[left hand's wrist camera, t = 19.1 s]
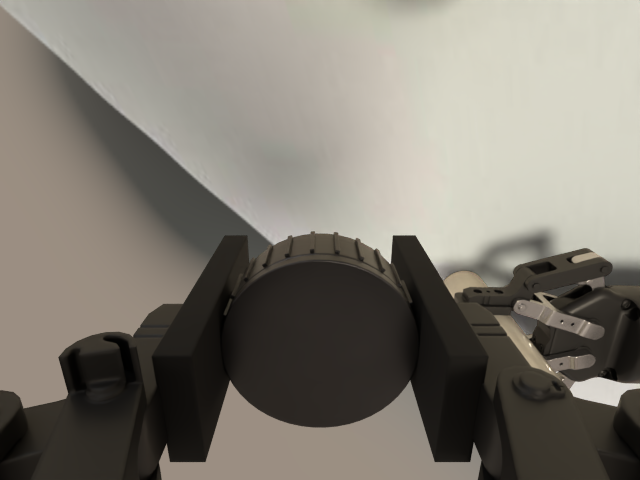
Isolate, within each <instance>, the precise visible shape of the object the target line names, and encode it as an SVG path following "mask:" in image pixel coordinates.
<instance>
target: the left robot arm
mask: <svg viewBox="0 0 640 480" xmlns="http://www.w3.org/2000/svg"><path fill="white" fill-rule="evenodd" d="M391 263H393V264H394V266H395V268H396V271H397V273H398V276H399V278H400V281H401V280H404V282H405V285H406V287H407V290H408V292H409V294H410V297H411V299H412V302H413V304H414V305H413V306H411V308H412V311H413V313H414V316H415V318H416V321H417V324H418V329H419V334H420V346H419V355H418V361H417V365H416V368H415V371H414V373H413V375H412V377H411V379H410V380H411V384H412V387H413V391H414V394H415V397H416V400H417V404H418V407H419V411H420V414H421V417H422V421H423V424H424V427H425V431H426V434H427V437H428V441H429V444H430V447H431V451H432V454H433V457H434V461H435V462H470V460H471V454H472V449H473V443H475V445H476V448H477V450H478V453H479V455H480V457H481V460H482V461H481V466H480V472H479V477H478V480H640V389H633V390H627V391H626V392H625V393H624V394H623V395H621V398H620V401H619V404H618V407H615V406H611V405H606V404H601V403H597V402H592V401H588V400H583V399H580V398H576V397H573V395H572V393H571V391H570V390H569V389H568V387H567V386H566V385H565V383H563V382H562V381H561V380H559V379H558V378H557V377H555V376H554V375H552V374H550V373H547V372H545V371H543V370H541V369H537V368H533V367H531V365H530V364H529V363H528V361H527V360H526V359H525V357H524V356H523V355H522V353H521V352H520V350H519V349H518V348H517V346H516V345H515V344H514V342H513V341H512V340H511V338H510V337H509V336H507V333H506V331H505V330H504V329H503V327H502V326H500V323H499V322H498V321H497V319H496V318H495V316H494V315H493V314H492V312H490V311H489V310H487V309H486V308H484V307H483V306H481V305H480V304H478V303H456V302H455V300H454V298H453V297H452V295H451V293H450V292H449V290H448V288H447V287H446V285H445V283H444V282H443V280H442V279H441V277H440V275H439V274H438V272H437V270H436V269H435V267H434V265H433V264H432V262H431V260H430V259H429V257H428V256H427V254H426V252H425V251H424V249H423V247H422V246H421V244H420V242H419V241H418V239H417V237H416V236H393V242H392V257H391ZM248 266H249V253H248V239H247V236H224V238H223V240H222V241H221V243H220V244H219V246H218V248H217V249H216V251H215V253H214V254H213V256H212V258H211V259H210V261H209V263H208V264H207V266H206V268H205V269H204V271H203V272H202V274H201V276H200V277H199V279H198V281H197V282H196V284H195V286H194V287H193V289H192V291H191V292H190V294H189V295H188V297H187V299H186V300H185V302H184V304H163V305H161V306H160V307H158V308H157V309H155V310H154V311H153V312H151V313H149V314H148V316H147V317H146V319H145V320H144V321H143V323H142V324H141V327H140V328H138V330H137V331H136V332H135V334H134V335H133V337H132V336H131V335H129V334H126V333H122V332H105V333H100V334H96V335H92V336H89V337H87V338H84V339H82V340H79V341H77V342H75V343H74V344H72V345H71V346H69V347H68V348H66V349H65V350H64V352H63V353H62V354H61V355H60V356H59V361H60V365H61V368H62V372H63V376H64V379H65V383H66V387H67V390H68V396H67V398H66V399H64V400H60V401H57V402H52V403H47V404H43V405H38V406H33V407H29V408H24V409H23V406H22V403H21V400H20V397H19V396H17V395H16V394H15V393H14V392H9V391H3V390H1V391H0V480H161V472H160V466H159V460H160V458H161V455H162V453H163V451H164V448H165V446H166V444H167V447H168V453H169V458H170V462H205V461H206V458H207V455H208V451H209V448H210V445H211V442H212V438H213V435H214V432H215V428H216V425H217V422H218V418H219V415H220V411H221V408H222V405H223V401H224V398H225V395H226V391H227V388H228V385H229V381H230V379H229V377H228V375H227V372H226V370H225V367H224V364H223V360H222V353H221V341H220V339H221V330H222V326H223V322H224V319H225V318H223V314H224V311H225V309H226V306H227V304H228V302H229V299H230V296H231V294H232V291H233V289H234V286H235V284H236V282H237V279H238V277H239V275H240V273H241V274H244V272H245V271H246V269H247V268H248Z"/></svg>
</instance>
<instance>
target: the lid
mask: <svg viewBox="0 0 640 480" xmlns="http://www.w3.org/2000/svg"><path fill="white" fill-rule="evenodd" d="M413 305H414V304H413V302H412V299H411V297H410V294H409V292H408V290H407V287H406V285H405V282H404V280H401V281H400V278H399V276H398V273H397V271H396V268H395V266H394V264H393V263H391V264H389V263H388V262H387V261H386V260H385V259H384V258H383V257H382V256H381V254H380V251H379V250H378V249H375V250H373V249H372V248H370V247H368V246H367V245H365V244H363V243H361V241H360V239H358V238H356V240H354V239H351V238H347V237H343V236H340V235H338V233H336V232H334V235H332V234H315V231H313V232H311V234H308V235H301V236H297V237H292V235H291V236H288V239H287V240H284V241H282V242H279V243H277V244H276V245H274V246H272V245H271V244H270V245H268V247H267V250H266V251H264V252H263V253H261V254H260V255H259V256H258V257H257V258H256V259H255V258H254V257H253V258H252V259H251V261H250V263H249V266H248V268H247V269H246V271H245V272H244V274H241V273H240V275H239V277H238V279H237V282H236V284H235V286H234V289H233V291H232V294H231V296H230V299H229V302H228V304H227V306H226V309H225V311H224V314H223V318H225V319H224V322H223V326H222V330H221V339H220V341H221V353H222V360H223V364H224V367H225V370H226V372H227V375H228V377H229V379H230V380H231V382H232V384H233V385H234V387H235V388H236V389H237V390H238V392H239V393H240V394H241V395H242V396H243V397H244V398H245V399H246V400H247V401H248V402H249V403H250V404H252V405H253V406H254V407H256V408H257V409H258V410H260V411H262V412H263V413H265V414H267V415H269V416H271V417H273V418H275V419H278V420H280V421H284V422H286V423H290V424H294V425H299V426H305V427H335V426H341V425H346V424H350V423H354V422H357V421H360V420H363V419H365V418H367V417H369V416H372V415H373V414H375V413H377V412H379V411H380V410H382V409H383V408H385V407H386V406H387V405H389V404H390V403H391V402H392V401H393V400H394V399H395V398H397V397H398V396H399V394H400V393H401V392H402V391H403V390H404V388H405V387H406V386H407V384H408V382H409V381H410V379H411V377H412V375H413V373H414V371H415V368H416V365H417V361H418V355H419V346H420V334H419V329H418V324H417V321H416V318H415V316H414V313H413V311H412V308H411V306H413Z"/></svg>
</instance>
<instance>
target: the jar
mask: <svg viewBox="0 0 640 480" xmlns="http://www.w3.org/2000/svg"><path fill="white" fill-rule="evenodd" d="M443 282H444V283H445V285H446V287H447V288H448V290H449V292H450V293H451V295H452V297H453V298H454V295H455V293H457V292H463V289H465V288H468V287H488V286H487V285H486V284H485V283H484V281H483V280H482V279H481V278H480V277H479V276H478V275H477V274H475V273H473V272H470V271H459V272H456V273H453V274H451V275H450V276H448V277H447V278H446V279H445V280H444V281H443ZM494 316H495V318H496V319H497V321H498V322H499V323H500V326H502V327H503V329H504V330H505V331H506V333H507V336H509V337H510V338H511V340H512V341H513V342H514V344H515V345H516V346H517V348H518V349H519V350H520V352H521V353H522V355H523V356H524V357H525V359H526V360H527V361H528V363H529V364H530V365H531V367H533V368H537V369H541V370H543V371H545V372H547V373H550V374H552V375H554V376H555V377H557V378H558V379H559V380H561V378H560V377H559V376H558V375H557V373H556V372H555V371H554V370H553V368H552V367H551V366H550V364H549V363H548V362H547V361H546V359H545V358H544V357H543V356H542V354H541V353H540V352H539V351H538V349H537V348H536V347H535V346H534V344H533V343H532V342H531V341H530V339H529V338H528V337H527V336H526V334H525V333H524V332H523V330H522V329H521V328H520V327H519V325H518V324H517V323H516V322H515V320H514V319H513V318H512V317H511V315H494ZM561 381H562V380H561ZM562 382H563V381H562ZM563 383H564V382H563ZM568 389H569V388H568Z"/></svg>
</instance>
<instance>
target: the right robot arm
mask: <svg viewBox="0 0 640 480" xmlns="http://www.w3.org/2000/svg"><path fill="white" fill-rule="evenodd" d="M612 268H613V266H612V264H611V263H610V262H608V261H607V260H605V259H604V258H602V257H601V256H599V255H598V254H596V253H594V252H593V251H591V250H590V249H587V248H584V249H580V250H576V251H572V252H568V253H564V254H560V255H556V256H552V257H548V258H544V259H540V260H536V261H532V262H528V263H525V264H521V265H518V266H516V267H515V268H514V271H513V274H514V278H513V279H512V281H511V282H510V283H509V284H508V285H506V286H504V287H501V288H498V287H468V288H465V289H463V292H457V293H455V295H454V300H455V302H456V303H478V304H480V305H481V306H483V307H484V308H486V309H487V310H489V311H490V312H492V314H493V315H510V313H511V311H515V312H516V313H517V314H520V315H524V316H527V317H530V318H534V319H537V326H536V328H535V330H534V332H533V334H529V335H526V336H527V337H528V338H529V339H530V341H531V342H532V343H533V344H534V346H535V347H536V348H537V349H538V351H539V352H540V353H541V354H542V356H543V357H544V358H545V359H546V361H547V362H548V363H549V364H550V366H551V367H552V368H553V370H554V371H555V372H556V371H559V372H558V373H557V375H558V376H559V377H560V378H561V380H562V381H563V382H564V383H565V385H566V386H567V387H568V388H569V389H570V388H571V386H572V385H573V384H574V382H575V381H576V382H581V381H585V380H588V379H591V378H594V377H602V378H606V379H609V380H613V381H616V382H621V383H640V286H621V285H611V286H606V285H605V280H604V276H607V275H608V274H610V273H611V271H612ZM575 283H578V284H579V286H577V287H575V288H573V289H571V290H570V291H568V292H566V293H564V294H562V295H560V296H558V297H557V296H554V295H551V294H547V293H544V292H543V291H547V290H551V289H555V288H559V287H563V286H567V285H571V284H575Z"/></svg>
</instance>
